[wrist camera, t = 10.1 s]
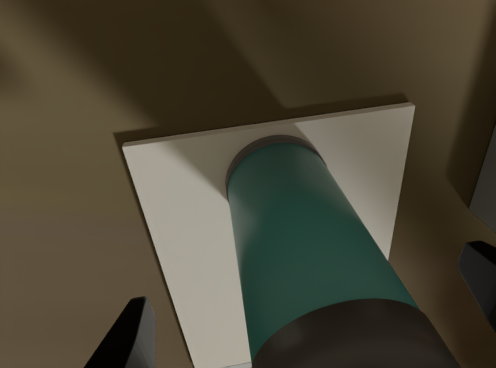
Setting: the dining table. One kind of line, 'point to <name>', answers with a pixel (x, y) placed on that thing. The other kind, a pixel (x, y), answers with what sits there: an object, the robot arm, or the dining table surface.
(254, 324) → the canister
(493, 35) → the dining table surface
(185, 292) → the paper
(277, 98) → the dining table surface
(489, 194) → the button housing
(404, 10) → the dining table surface
